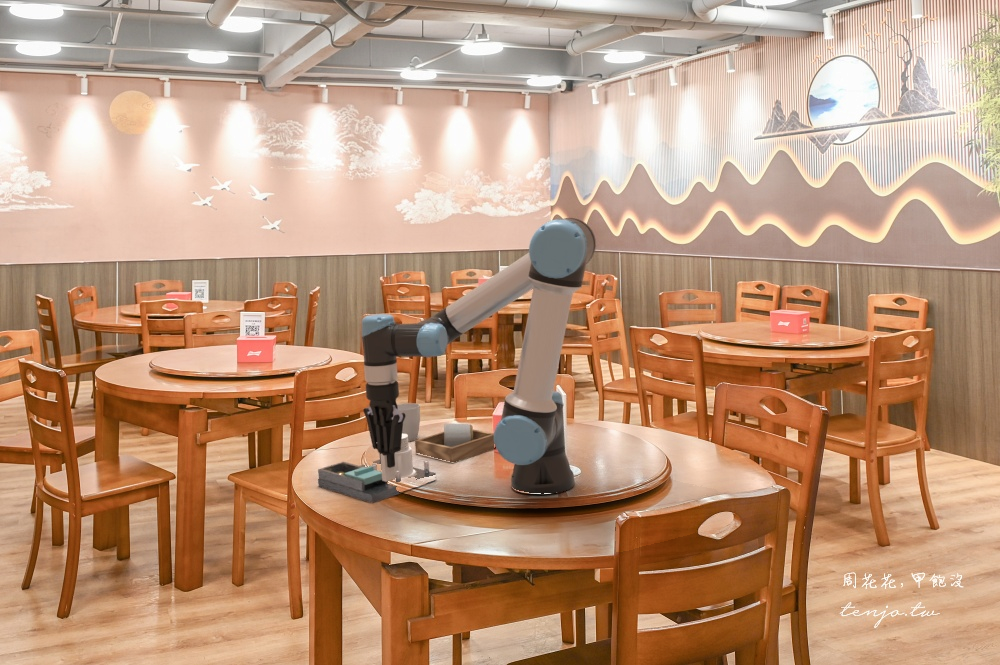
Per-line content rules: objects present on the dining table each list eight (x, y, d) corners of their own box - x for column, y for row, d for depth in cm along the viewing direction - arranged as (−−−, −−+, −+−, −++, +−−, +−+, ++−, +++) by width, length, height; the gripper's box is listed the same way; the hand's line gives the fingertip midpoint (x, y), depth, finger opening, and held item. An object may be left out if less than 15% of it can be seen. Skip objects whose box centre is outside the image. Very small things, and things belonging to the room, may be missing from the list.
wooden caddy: (497, 447, 251) (496, 433, 251) (452, 463, 239) (451, 448, 239) (460, 440, 262) (459, 426, 261) (415, 454, 250) (414, 440, 249)
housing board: (436, 480, 225) (434, 461, 224) (372, 503, 211) (370, 482, 210) (381, 466, 241) (379, 448, 240) (318, 486, 227) (316, 467, 226)
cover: (384, 478, 219) (383, 468, 218) (364, 485, 214) (364, 474, 214) (364, 472, 224) (363, 463, 224) (344, 479, 220) (344, 469, 220)
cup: (392, 437, 269) (389, 405, 268) (419, 434, 271) (416, 401, 270) (397, 444, 261) (395, 410, 260) (425, 440, 264) (422, 407, 262)
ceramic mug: (474, 452, 248) (472, 424, 247) (444, 454, 248) (442, 427, 247) (473, 442, 259) (471, 416, 258) (444, 444, 259) (442, 418, 258)
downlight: (388, 470, 229) (385, 432, 227) (416, 468, 230) (413, 430, 228) (386, 481, 221) (383, 442, 219) (415, 479, 222) (412, 440, 220)
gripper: (412, 381, 207) (418, 480, 210) (377, 375, 216) (384, 470, 219) (386, 387, 201) (393, 489, 205) (351, 381, 210) (359, 478, 214)
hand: (388, 479), depth 212 cm, fingers closed
